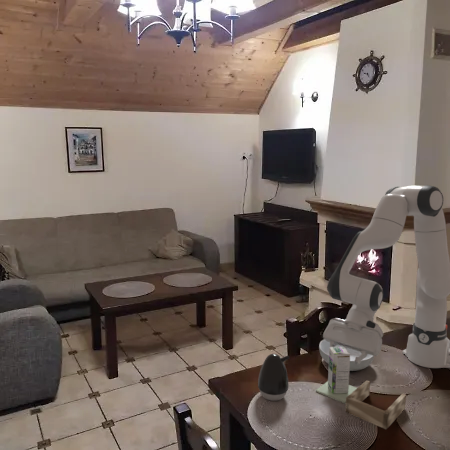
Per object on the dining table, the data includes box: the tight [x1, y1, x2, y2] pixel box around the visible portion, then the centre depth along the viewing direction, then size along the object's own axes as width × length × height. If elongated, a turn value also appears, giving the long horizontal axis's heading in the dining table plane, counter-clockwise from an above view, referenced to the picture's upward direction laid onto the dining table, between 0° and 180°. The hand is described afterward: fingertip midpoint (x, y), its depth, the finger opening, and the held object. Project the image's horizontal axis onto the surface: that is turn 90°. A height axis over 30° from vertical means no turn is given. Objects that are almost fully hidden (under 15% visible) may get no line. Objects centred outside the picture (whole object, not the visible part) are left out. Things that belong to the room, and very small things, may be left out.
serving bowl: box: [318, 338, 375, 372], centre depth 178 cm, size 21×21×7 cm
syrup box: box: [327, 347, 350, 394], centre depth 157 cm, size 6×6×14 cm
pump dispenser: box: [257, 353, 290, 402], centre depth 154 cm, size 10×10×15 cm
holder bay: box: [345, 380, 407, 430], centre depth 147 cm, size 15×13×5 cm
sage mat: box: [315, 380, 358, 405], centre depth 159 cm, size 11×11×1 cm
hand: (344, 359), depth 157 cm, fingers open, 8 cm apart
